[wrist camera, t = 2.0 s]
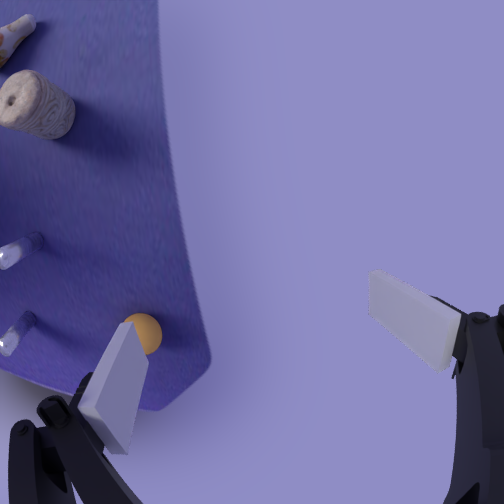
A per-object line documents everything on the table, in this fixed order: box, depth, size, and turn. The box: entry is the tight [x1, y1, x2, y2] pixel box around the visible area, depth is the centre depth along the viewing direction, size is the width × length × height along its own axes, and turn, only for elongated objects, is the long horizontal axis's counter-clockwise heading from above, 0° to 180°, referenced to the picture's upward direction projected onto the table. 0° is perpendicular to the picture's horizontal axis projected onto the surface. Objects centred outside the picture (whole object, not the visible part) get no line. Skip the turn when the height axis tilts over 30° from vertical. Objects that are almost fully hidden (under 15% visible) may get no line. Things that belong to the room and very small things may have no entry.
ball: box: [123, 313, 162, 355], centre depth 33 cm, size 6×6×6 cm
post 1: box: [0, 232, 43, 270], centre depth 25 cm, size 2×2×9 cm
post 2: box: [0, 311, 36, 357], centre depth 27 cm, size 2×2×9 cm
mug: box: [0, 14, 36, 68], centre depth 17 cm, size 8×10×10 cm
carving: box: [0, 70, 75, 140], centre depth 20 cm, size 6×8×12 cm
